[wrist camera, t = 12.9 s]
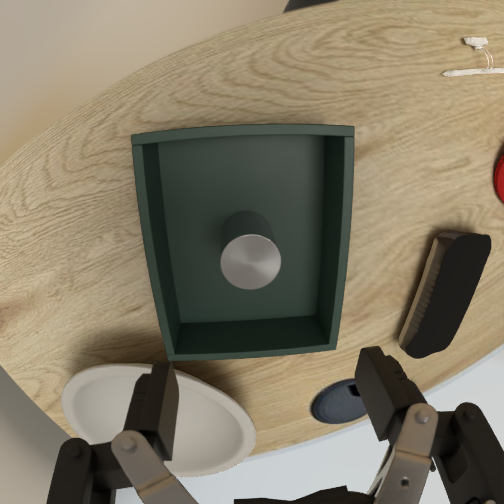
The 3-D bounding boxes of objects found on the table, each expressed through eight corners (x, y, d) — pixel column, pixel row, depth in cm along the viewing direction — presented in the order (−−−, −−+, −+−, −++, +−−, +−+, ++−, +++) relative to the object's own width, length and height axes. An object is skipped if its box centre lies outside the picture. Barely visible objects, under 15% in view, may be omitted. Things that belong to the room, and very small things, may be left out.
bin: (151, 132, 25) (130, 134, 19) (329, 124, 26) (354, 126, 20) (176, 323, 33) (168, 361, 27) (320, 314, 33) (336, 350, 28)
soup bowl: (57, 316, 31) (33, 350, 25) (260, 331, 34) (266, 373, 27) (101, 432, 41) (92, 463, 35) (246, 446, 43) (249, 480, 37)
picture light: (441, 77, 24) (453, 76, 22) (429, 39, 22) (440, 35, 20) (513, 72, 23) (524, 72, 21) (504, 40, 21) (515, 39, 19)
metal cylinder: (220, 212, 27) (217, 235, 22) (271, 209, 27) (281, 232, 22) (223, 258, 29) (222, 291, 23) (271, 256, 29) (281, 288, 24)
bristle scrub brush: (432, 220, 30) (451, 232, 26) (479, 230, 31) (498, 241, 27) (389, 342, 36) (400, 361, 33) (437, 340, 37) (449, 356, 34)
